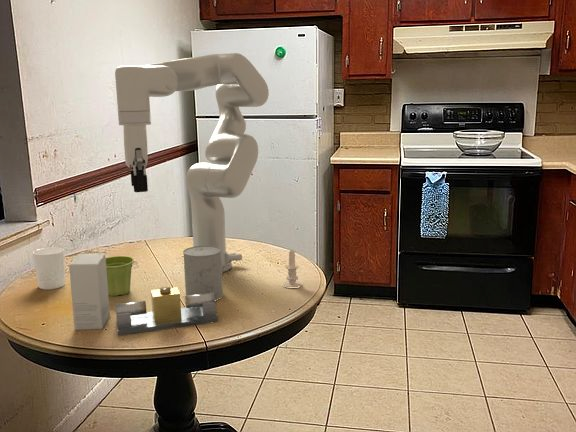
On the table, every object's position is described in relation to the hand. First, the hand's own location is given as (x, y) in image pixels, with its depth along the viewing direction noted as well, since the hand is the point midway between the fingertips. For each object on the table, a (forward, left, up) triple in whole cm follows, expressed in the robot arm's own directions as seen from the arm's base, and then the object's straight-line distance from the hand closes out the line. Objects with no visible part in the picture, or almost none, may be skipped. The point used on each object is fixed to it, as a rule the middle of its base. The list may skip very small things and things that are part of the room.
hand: (139, 188), depth 140 cm
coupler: (-3, +18, -27) cm, 33 cm away
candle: (-38, +5, -28) cm, 48 cm away
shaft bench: (-3, +18, -28) cm, 34 cm away
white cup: (+24, -18, -28) cm, 41 cm away
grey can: (-14, +5, -28) cm, 32 cm away
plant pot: (+7, -6, -28) cm, 30 cm away
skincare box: (+13, +13, -28) cm, 34 cm away
